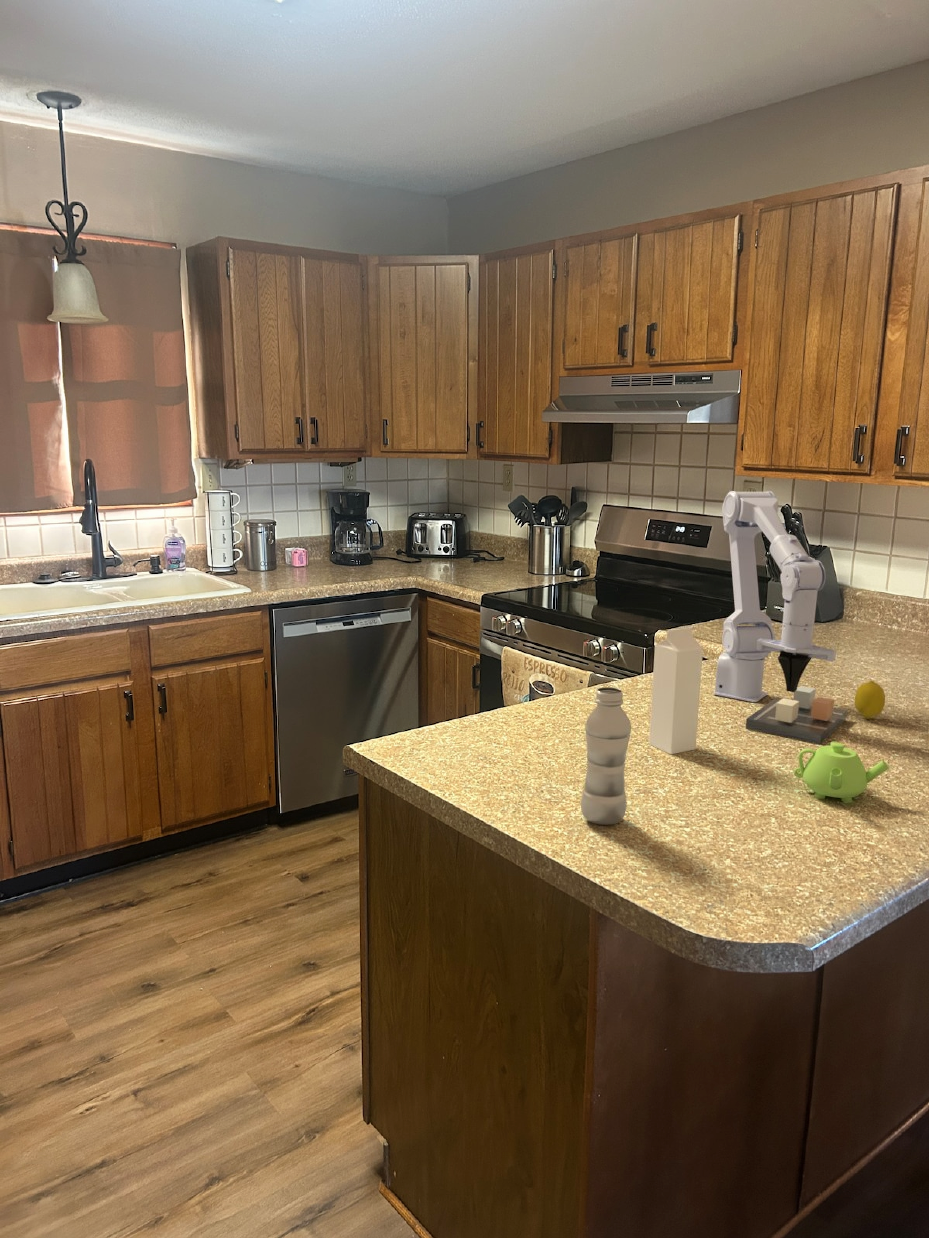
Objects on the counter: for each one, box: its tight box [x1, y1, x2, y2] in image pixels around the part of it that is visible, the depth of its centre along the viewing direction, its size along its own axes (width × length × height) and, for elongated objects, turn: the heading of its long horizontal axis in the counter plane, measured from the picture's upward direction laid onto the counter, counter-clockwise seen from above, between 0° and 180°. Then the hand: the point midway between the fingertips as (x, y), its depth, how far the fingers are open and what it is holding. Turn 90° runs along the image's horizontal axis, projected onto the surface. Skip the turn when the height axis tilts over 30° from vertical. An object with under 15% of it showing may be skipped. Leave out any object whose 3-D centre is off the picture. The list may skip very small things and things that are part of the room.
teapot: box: [793, 741, 890, 804], centre depth 144 cm, size 11×12×8 cm
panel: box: [745, 697, 848, 745], centre depth 178 cm, size 14×18×2 cm
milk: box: [648, 627, 704, 755], centre depth 162 cm, size 6×6×22 cm
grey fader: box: [793, 685, 816, 709], centre depth 182 cm, size 3×4×3 cm
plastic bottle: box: [580, 686, 632, 826], centre depth 131 cm, size 6×7×20 cm
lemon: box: [854, 680, 886, 720], centre depth 181 cm, size 6×6×8 cm
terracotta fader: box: [811, 696, 835, 721], centre depth 175 cm, size 3×4×3 cm
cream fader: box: [775, 698, 799, 723], centre depth 173 cm, size 3×4×3 cm
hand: (791, 690), depth 178 cm, fingers closed
